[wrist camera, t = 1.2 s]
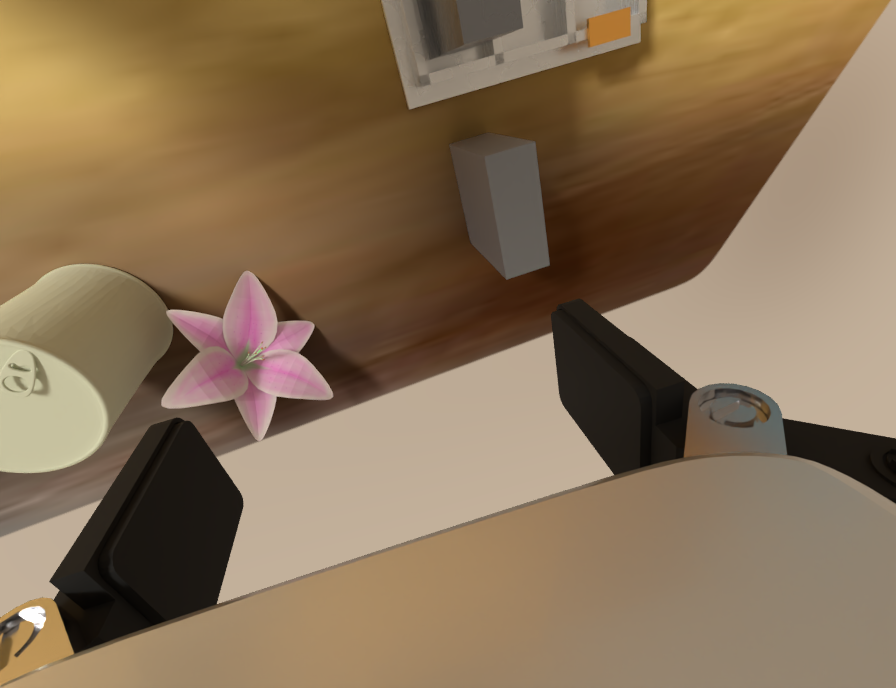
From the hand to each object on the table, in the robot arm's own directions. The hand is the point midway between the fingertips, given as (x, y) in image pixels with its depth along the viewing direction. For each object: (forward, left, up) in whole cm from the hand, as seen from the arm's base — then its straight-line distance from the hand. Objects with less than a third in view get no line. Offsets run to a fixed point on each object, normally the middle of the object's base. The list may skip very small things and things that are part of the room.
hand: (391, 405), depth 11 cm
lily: (+8, -11, -26) cm, 29 cm away
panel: (+2, +10, -26) cm, 28 cm away
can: (+3, -21, -26) cm, 34 cm away
